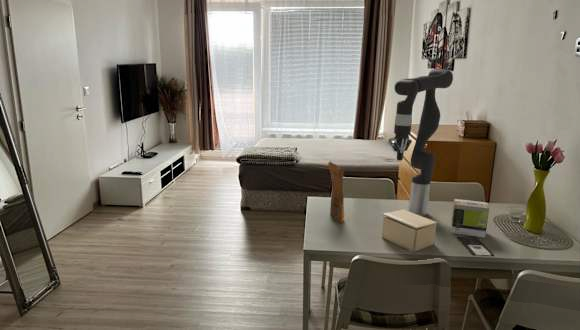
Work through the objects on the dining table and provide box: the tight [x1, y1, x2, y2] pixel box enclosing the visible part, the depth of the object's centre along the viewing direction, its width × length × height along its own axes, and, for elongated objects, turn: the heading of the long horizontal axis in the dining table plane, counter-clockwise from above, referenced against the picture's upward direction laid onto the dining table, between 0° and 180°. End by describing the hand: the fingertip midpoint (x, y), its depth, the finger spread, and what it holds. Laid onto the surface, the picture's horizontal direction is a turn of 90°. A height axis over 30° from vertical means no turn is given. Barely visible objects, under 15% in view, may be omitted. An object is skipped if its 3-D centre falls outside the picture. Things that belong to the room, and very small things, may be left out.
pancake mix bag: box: [327, 160, 345, 224], centre depth 214 cm, size 7×19×28 cm, turn 8°
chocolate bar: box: [456, 236, 495, 257], centre depth 189 cm, size 9×1×18 cm
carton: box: [381, 216, 438, 253], centre depth 191 cm, size 14×18×10 cm
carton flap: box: [382, 209, 438, 229], centre depth 189 cm, size 14×19×1 cm
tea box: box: [450, 198, 490, 239], centre depth 202 cm, size 15×10×15 cm, turn 71°
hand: (399, 160), depth 201 cm, fingers closed
